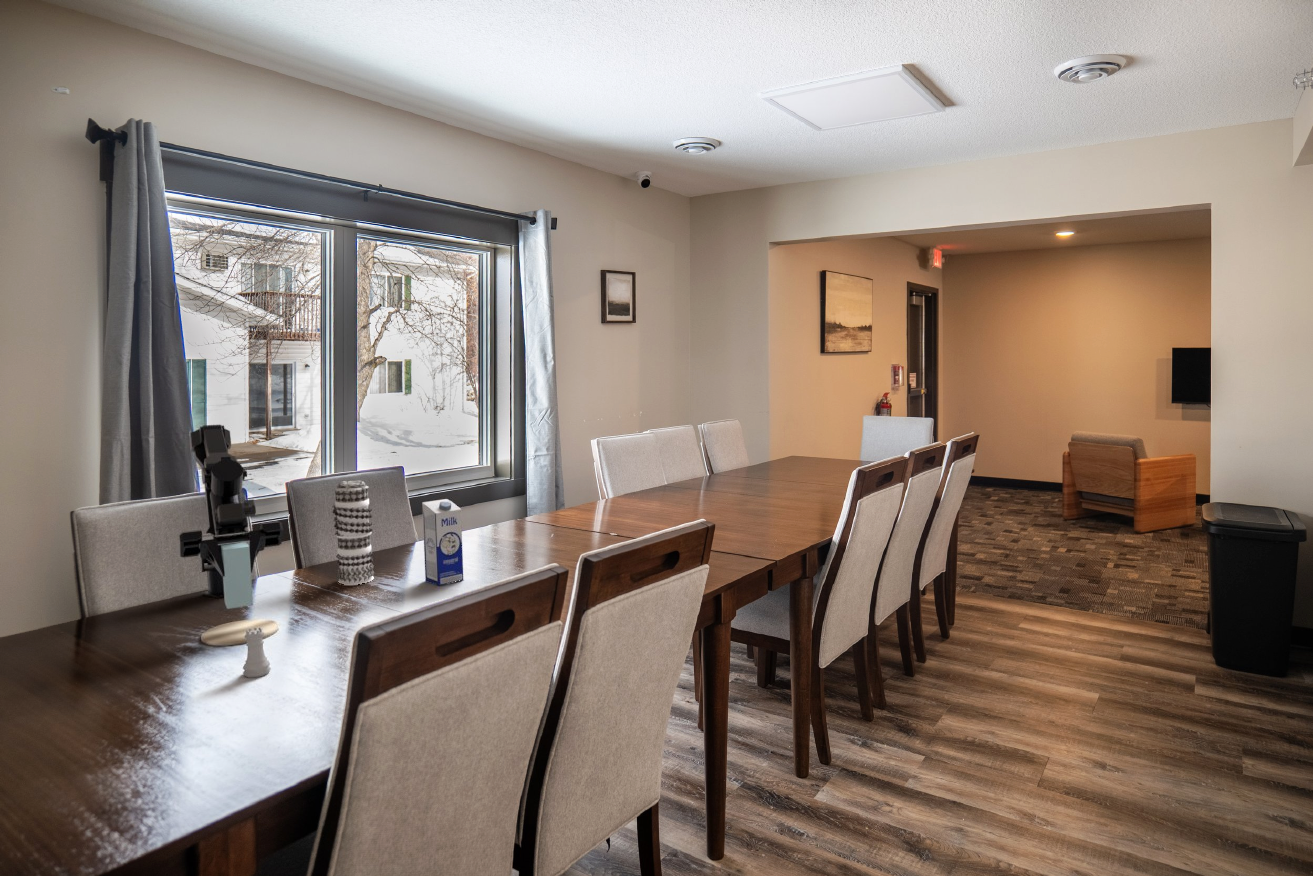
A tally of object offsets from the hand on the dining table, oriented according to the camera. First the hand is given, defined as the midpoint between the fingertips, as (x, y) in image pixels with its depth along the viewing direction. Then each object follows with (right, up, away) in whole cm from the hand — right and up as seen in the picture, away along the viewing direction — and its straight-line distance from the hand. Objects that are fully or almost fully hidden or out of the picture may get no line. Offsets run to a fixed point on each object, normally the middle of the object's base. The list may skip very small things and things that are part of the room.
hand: (237, 573), depth 162 cm
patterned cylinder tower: (+9, -9, +40) cm, 42 cm away
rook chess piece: (+13, -15, -18) cm, 27 cm away
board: (-1, -13, +2) cm, 13 cm away
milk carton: (+31, -9, +40) cm, 51 cm away
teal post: (-1, -6, +2) cm, 7 cm away
